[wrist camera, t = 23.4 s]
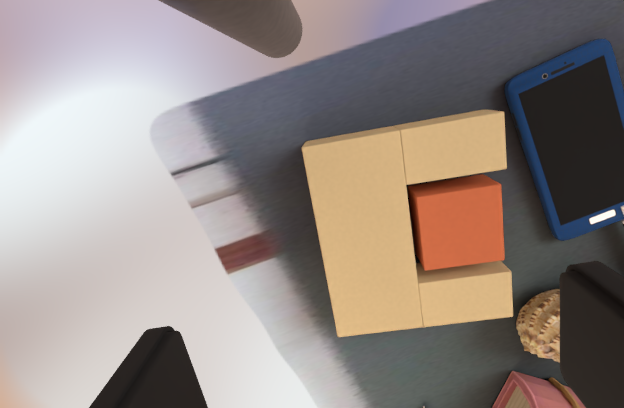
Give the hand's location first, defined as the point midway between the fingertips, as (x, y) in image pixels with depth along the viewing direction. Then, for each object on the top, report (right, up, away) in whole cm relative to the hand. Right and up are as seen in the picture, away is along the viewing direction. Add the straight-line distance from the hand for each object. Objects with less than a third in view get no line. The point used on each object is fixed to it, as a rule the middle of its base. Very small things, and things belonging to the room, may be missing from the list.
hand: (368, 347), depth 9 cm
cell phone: (+19, +8, +20) cm, 28 cm away
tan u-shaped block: (+6, +2, +22) cm, 23 cm away
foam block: (+10, +3, +22) cm, 24 cm away
